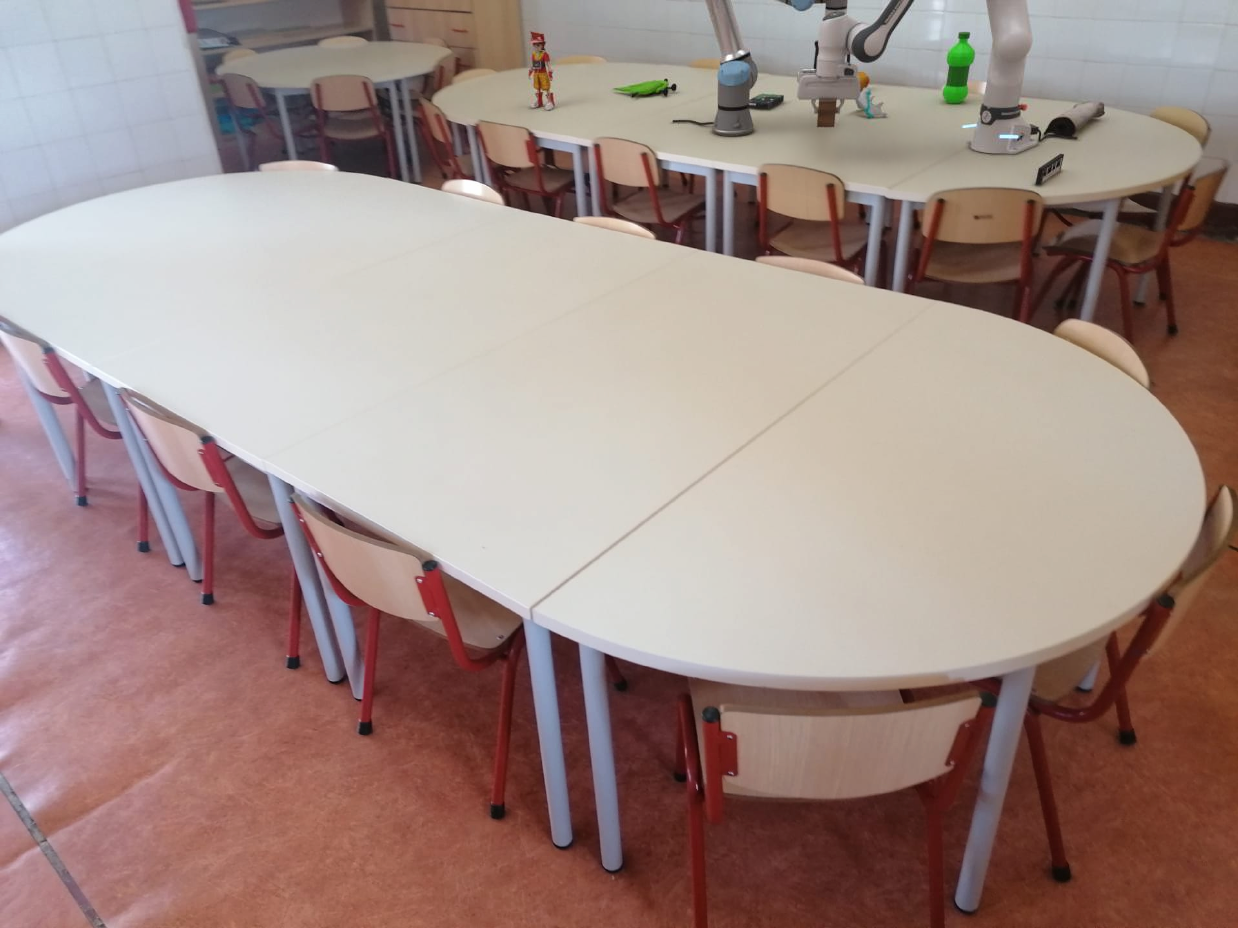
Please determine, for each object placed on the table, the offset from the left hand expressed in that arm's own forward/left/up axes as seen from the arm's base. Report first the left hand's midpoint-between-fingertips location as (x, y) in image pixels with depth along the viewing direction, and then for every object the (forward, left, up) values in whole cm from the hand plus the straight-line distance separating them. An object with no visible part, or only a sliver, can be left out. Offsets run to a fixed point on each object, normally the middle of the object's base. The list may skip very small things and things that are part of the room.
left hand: (829, 90), depth 332 cm
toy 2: (-95, +24, -12) cm, 98 cm away
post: (+7, -21, -1) cm, 22 cm away
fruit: (-6, +55, -12) cm, 56 cm away
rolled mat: (+83, +23, -12) cm, 87 cm away
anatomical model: (+10, +19, -12) cm, 24 cm away
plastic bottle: (+35, +46, -12) cm, 60 cm away
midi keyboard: (+84, -38, -12) cm, 93 cm away
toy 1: (-122, -14, -12) cm, 123 cm away
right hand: (+13, -41, +2) cm, 43 cm away
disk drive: (-33, +19, -12) cm, 40 cm away
